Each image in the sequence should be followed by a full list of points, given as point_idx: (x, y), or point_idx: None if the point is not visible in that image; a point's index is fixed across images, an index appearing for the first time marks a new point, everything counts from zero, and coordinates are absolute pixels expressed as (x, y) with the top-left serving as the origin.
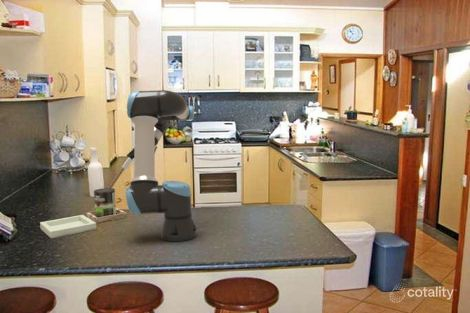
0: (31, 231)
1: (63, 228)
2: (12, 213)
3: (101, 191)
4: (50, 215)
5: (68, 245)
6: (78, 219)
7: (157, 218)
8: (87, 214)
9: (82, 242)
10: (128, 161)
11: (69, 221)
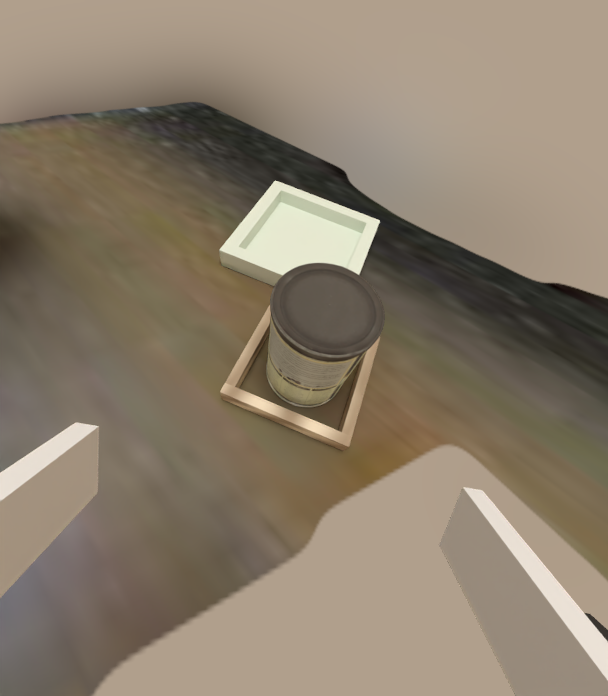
0: None
1: (269, 201)
2: (595, 301)
3: (319, 284)
4: (492, 322)
5: (192, 177)
6: None
7: None
8: None
9: (174, 193)
10: (557, 670)
11: None
